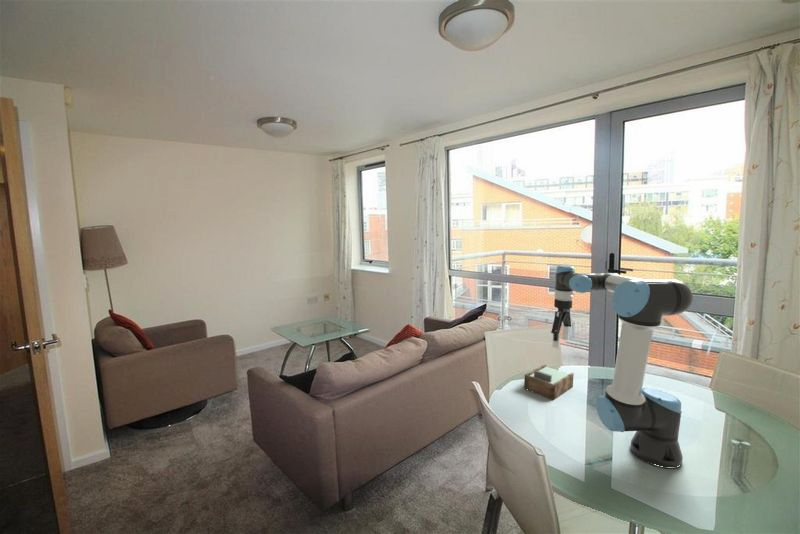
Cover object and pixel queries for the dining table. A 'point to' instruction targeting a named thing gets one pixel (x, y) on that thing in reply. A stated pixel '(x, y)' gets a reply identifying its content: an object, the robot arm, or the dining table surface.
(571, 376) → the box
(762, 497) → the dining table surface
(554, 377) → the mint green panel
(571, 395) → the dining table surface
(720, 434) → the dining table surface
